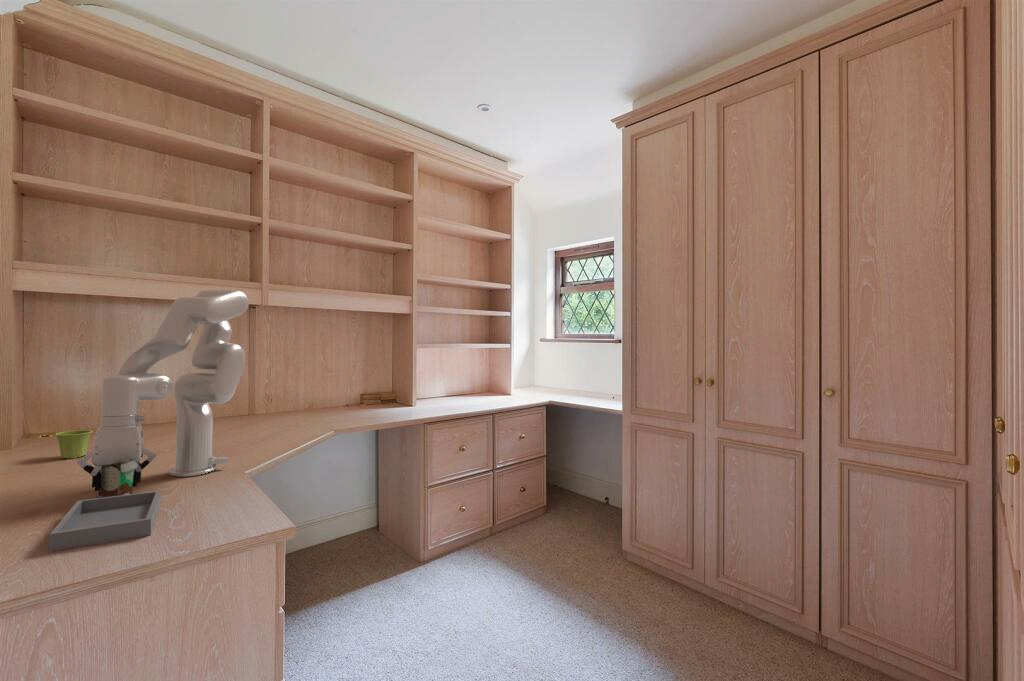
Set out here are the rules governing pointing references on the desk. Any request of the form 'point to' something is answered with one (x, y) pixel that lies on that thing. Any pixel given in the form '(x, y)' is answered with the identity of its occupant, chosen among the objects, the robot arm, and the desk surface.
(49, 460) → the desk surface
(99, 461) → the robot arm
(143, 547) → the desk surface
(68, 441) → the plant pot
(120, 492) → the food container
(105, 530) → the parts tray
